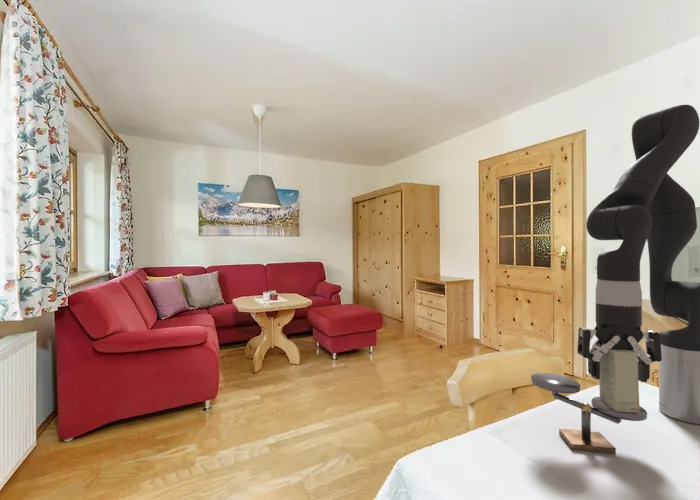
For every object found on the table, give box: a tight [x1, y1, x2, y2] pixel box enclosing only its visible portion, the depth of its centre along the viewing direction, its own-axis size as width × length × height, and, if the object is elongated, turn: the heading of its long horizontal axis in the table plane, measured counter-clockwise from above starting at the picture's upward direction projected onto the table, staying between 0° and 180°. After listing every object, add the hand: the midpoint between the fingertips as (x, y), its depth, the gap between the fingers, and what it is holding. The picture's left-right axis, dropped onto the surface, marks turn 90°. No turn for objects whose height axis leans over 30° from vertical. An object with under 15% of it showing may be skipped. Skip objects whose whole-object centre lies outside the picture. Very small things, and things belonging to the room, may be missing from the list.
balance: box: [530, 372, 648, 455], centre depth 70 cm, size 21×9×13 cm, turn 79°
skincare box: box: [598, 345, 640, 413], centre depth 69 cm, size 6×4×12 cm
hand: (618, 379), depth 69 cm, fingers open, 8 cm apart
